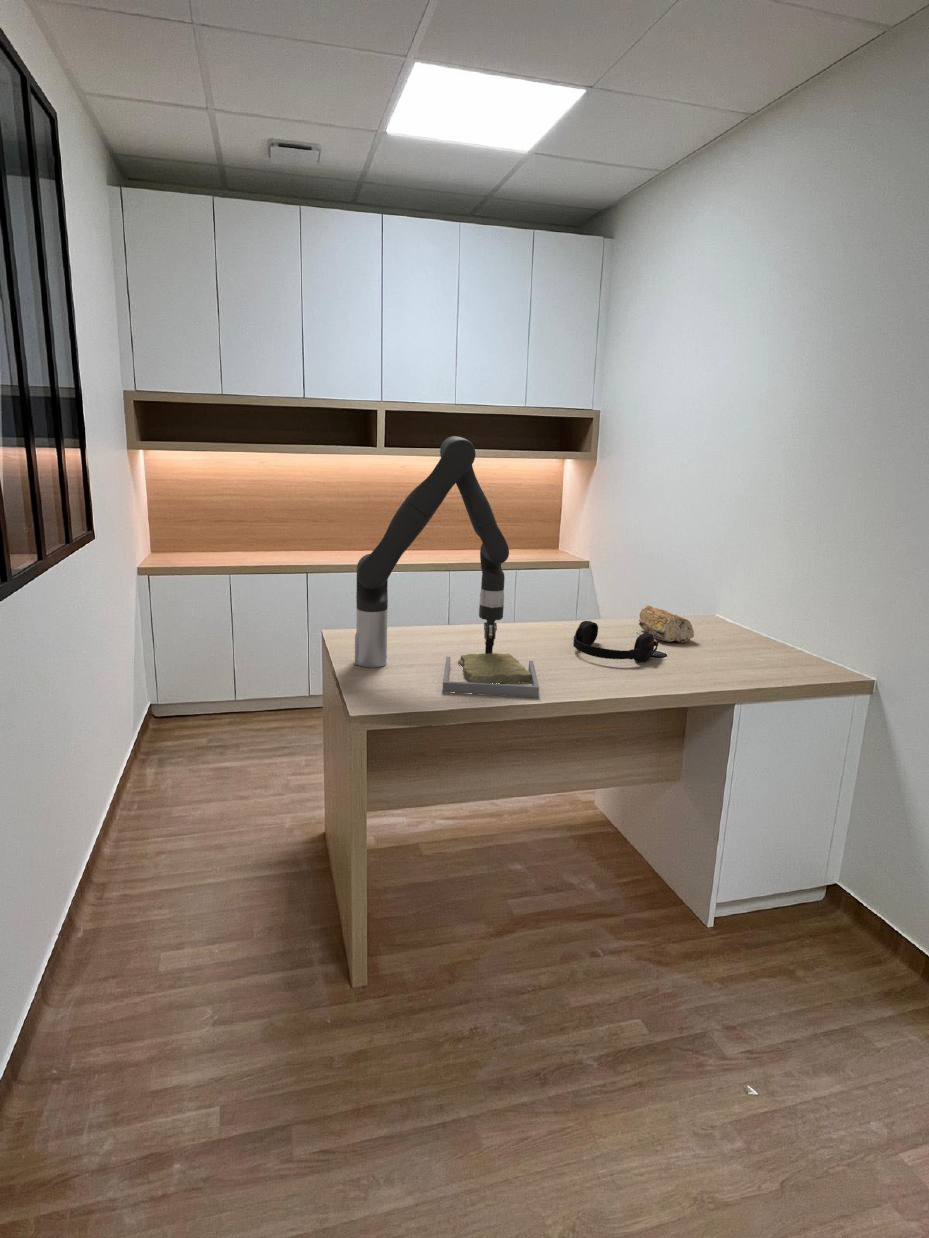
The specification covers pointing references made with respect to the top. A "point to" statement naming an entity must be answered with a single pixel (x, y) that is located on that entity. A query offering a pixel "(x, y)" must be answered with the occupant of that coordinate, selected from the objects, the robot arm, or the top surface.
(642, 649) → the headset
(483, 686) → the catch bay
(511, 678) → the decorative tile
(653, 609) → the petrified wood
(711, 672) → the top surface
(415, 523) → the robot arm
